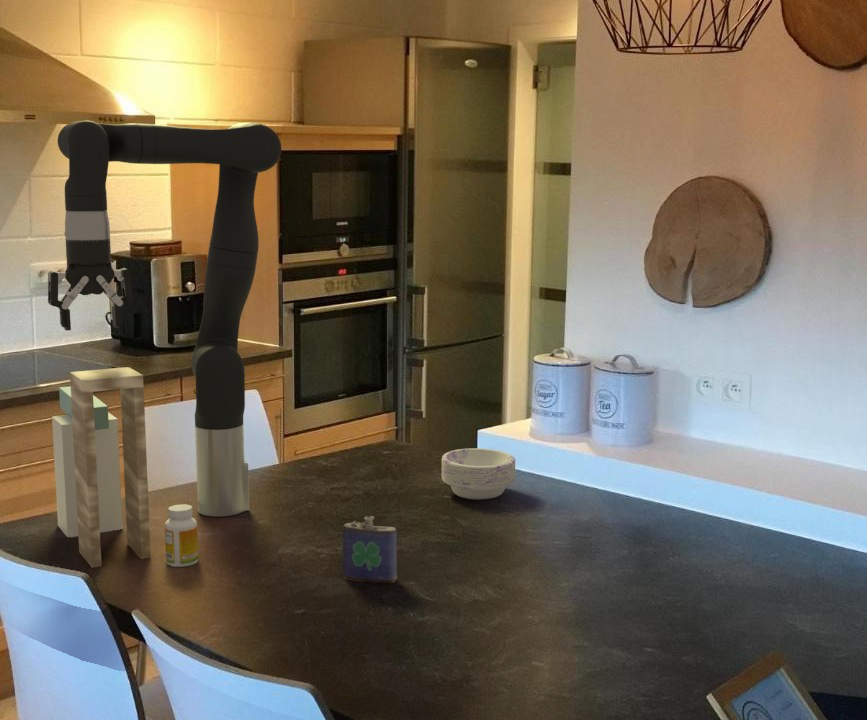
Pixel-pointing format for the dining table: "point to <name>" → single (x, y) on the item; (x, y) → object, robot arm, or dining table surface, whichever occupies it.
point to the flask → (369, 552)
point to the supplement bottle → (181, 537)
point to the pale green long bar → (99, 408)
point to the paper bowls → (478, 472)
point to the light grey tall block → (105, 475)
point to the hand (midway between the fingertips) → (92, 328)
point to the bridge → (132, 456)
